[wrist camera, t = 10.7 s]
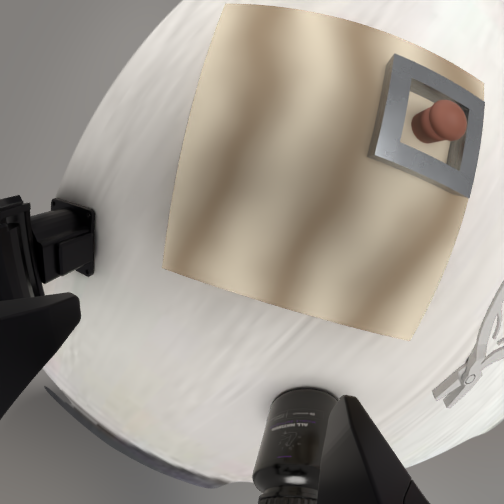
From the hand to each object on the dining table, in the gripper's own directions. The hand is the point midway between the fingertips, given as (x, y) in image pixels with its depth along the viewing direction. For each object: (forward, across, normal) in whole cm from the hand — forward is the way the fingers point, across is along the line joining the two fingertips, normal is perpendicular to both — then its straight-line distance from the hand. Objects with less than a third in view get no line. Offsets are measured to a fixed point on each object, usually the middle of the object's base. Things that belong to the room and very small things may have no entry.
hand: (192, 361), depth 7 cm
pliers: (+13, -24, +2) cm, 27 cm away
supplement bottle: (+12, -8, +14) cm, 20 cm away
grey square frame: (+10, -8, -11) cm, 17 cm away
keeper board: (+12, -3, -7) cm, 14 cm away
